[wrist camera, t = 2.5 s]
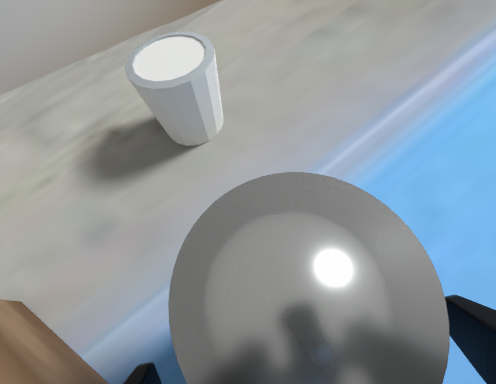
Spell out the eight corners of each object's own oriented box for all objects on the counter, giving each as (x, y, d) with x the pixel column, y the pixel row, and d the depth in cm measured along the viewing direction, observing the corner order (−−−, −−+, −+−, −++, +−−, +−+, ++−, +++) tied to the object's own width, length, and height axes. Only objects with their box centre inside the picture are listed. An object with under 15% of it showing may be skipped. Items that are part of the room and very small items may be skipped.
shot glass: (150, 120, 26) (111, 54, 19) (208, 89, 27) (188, 19, 21) (180, 163, 23) (144, 102, 16) (243, 127, 24) (231, 57, 18)
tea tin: (304, 386, 14) (404, 584, 3) (226, 332, 16) (113, 339, 5) (338, 298, 16) (472, 231, 5) (265, 258, 18) (250, 144, 7)
